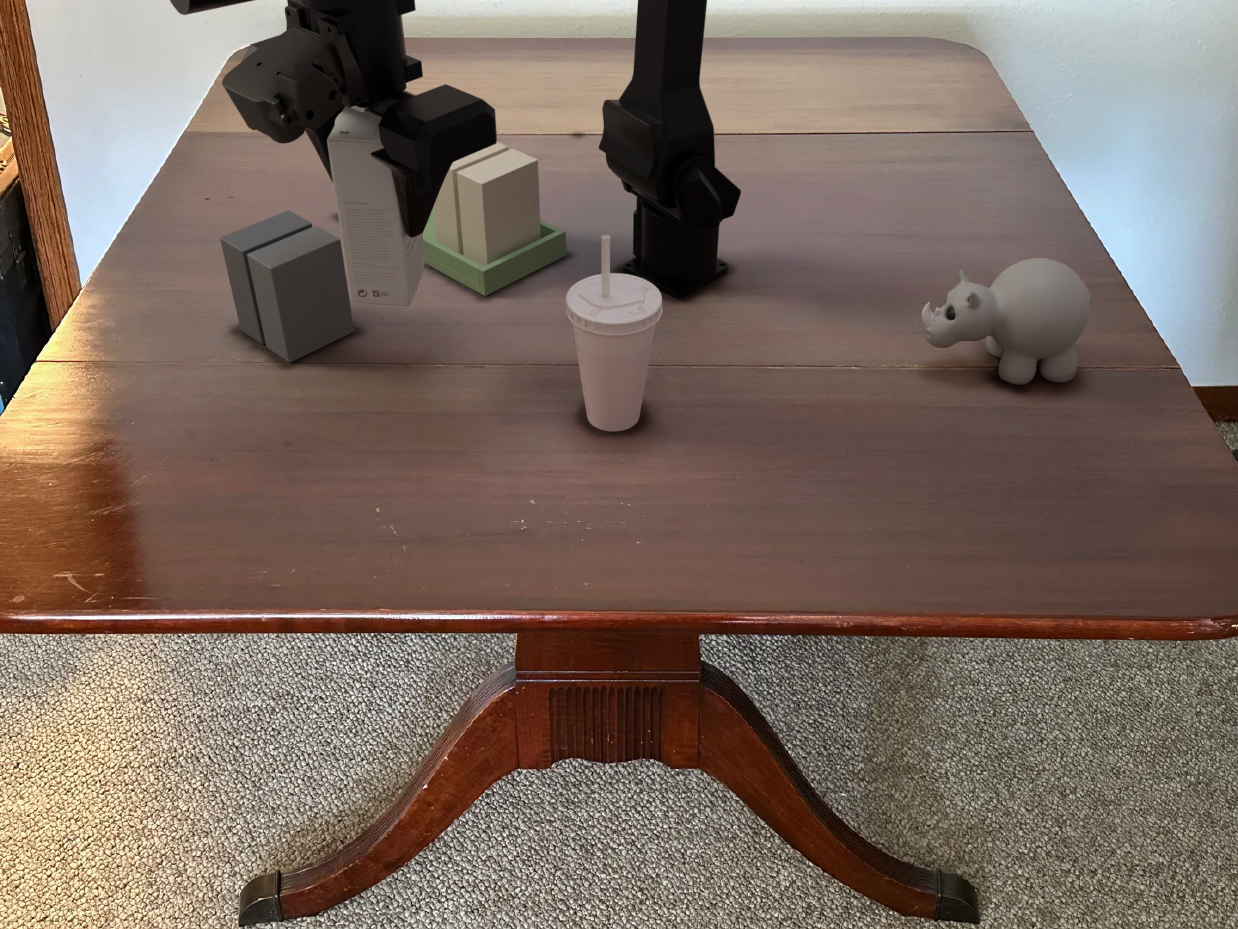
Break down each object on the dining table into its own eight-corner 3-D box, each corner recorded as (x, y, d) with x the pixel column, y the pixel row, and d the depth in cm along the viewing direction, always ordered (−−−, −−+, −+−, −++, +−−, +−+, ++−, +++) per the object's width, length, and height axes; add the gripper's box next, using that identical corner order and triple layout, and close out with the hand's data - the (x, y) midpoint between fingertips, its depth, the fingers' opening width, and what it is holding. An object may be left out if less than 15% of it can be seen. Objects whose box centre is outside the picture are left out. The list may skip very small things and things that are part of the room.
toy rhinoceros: (900, 339, 93) (918, 241, 87) (1054, 337, 93) (1082, 239, 88) (921, 395, 87) (942, 293, 82) (1086, 392, 88) (1117, 290, 82)
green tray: (566, 255, 102) (565, 231, 101) (485, 296, 97) (483, 271, 96) (421, 183, 113) (418, 160, 111) (340, 217, 107) (336, 193, 106)
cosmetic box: (412, 308, 82) (397, 143, 74) (346, 304, 82) (324, 139, 74) (427, 259, 87) (414, 99, 79) (365, 255, 87) (346, 95, 79)
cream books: (541, 248, 102) (538, 159, 97) (488, 274, 98) (481, 183, 93) (489, 222, 105) (483, 135, 100) (436, 246, 102) (427, 158, 97)
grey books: (354, 331, 93) (340, 238, 88) (289, 363, 90) (270, 268, 85) (305, 300, 97) (288, 209, 91) (240, 330, 93) (219, 237, 88)
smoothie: (574, 385, 88) (571, 210, 79) (662, 392, 87) (669, 216, 78) (561, 439, 83) (556, 259, 74) (654, 447, 82) (660, 266, 73)
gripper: (141, -25, 72) (200, 214, 81) (331, 57, 62) (372, 316, 72) (298, -66, 78) (335, 160, 88) (494, 2, 68) (510, 248, 78)
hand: (381, 217), depth 81 cm, fingers closed on cosmetic box, 7 cm apart
